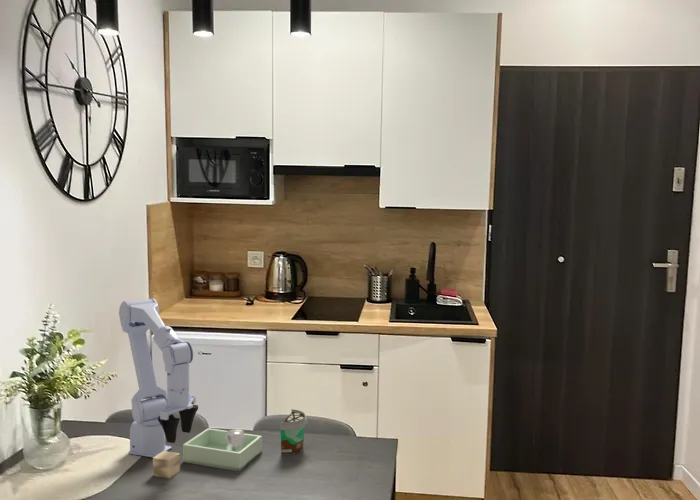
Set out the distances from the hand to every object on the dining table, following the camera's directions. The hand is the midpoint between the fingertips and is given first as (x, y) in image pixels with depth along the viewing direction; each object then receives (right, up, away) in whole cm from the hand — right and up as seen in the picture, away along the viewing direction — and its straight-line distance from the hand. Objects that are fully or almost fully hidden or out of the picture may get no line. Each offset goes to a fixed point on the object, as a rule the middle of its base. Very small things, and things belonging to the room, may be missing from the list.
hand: (178, 437), depth 187 cm
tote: (+10, -9, +10) cm, 17 cm away
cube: (-3, -10, -1) cm, 10 cm away
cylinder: (+14, -8, +9) cm, 18 cm away
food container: (+30, -8, +17) cm, 35 cm away
